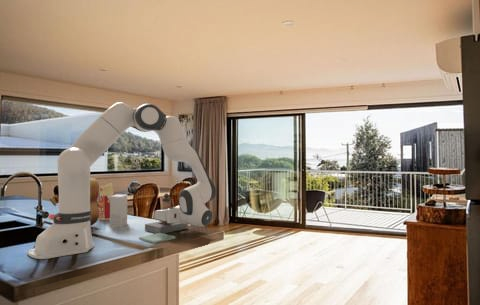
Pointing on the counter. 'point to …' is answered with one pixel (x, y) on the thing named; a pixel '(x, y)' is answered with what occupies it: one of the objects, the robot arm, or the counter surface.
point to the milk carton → (105, 201)
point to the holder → (164, 227)
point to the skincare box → (118, 210)
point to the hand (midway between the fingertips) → (165, 210)
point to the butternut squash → (94, 200)
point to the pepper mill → (166, 205)
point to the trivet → (157, 238)
